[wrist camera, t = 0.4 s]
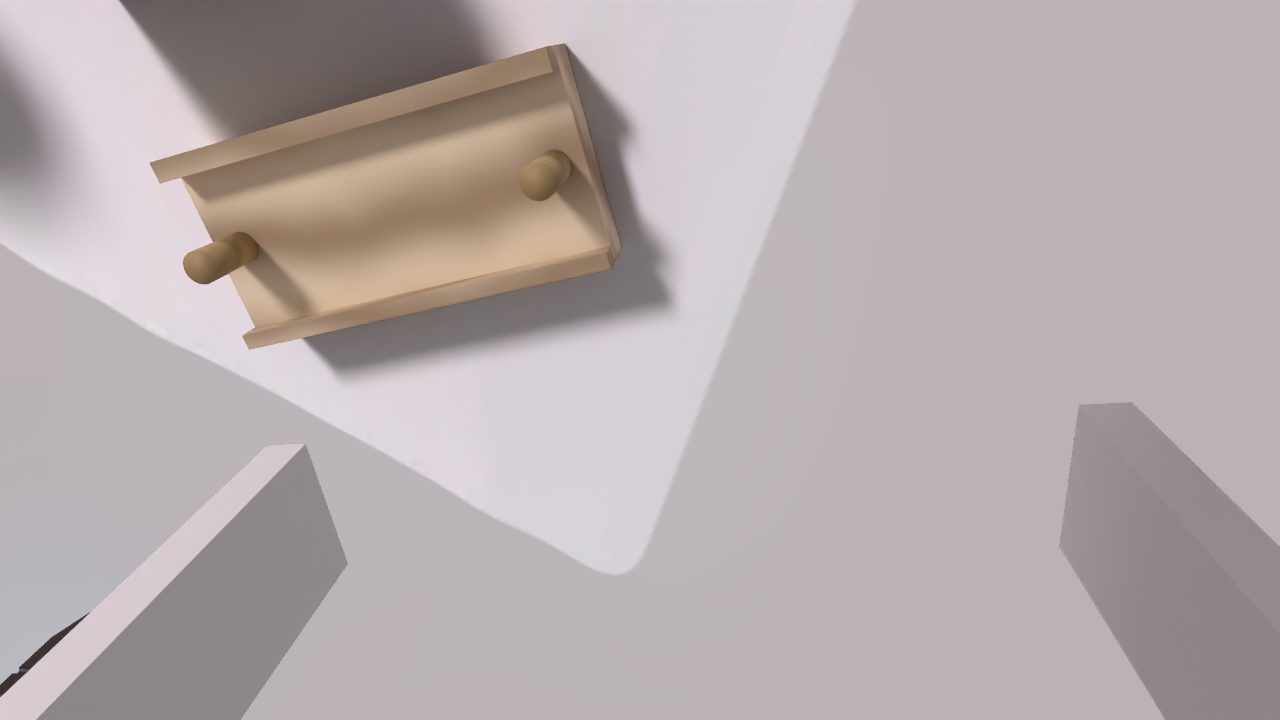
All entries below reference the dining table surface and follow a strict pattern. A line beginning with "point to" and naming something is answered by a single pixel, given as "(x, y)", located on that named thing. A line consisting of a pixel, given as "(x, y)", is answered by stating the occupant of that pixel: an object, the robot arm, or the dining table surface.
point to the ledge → (404, 200)
